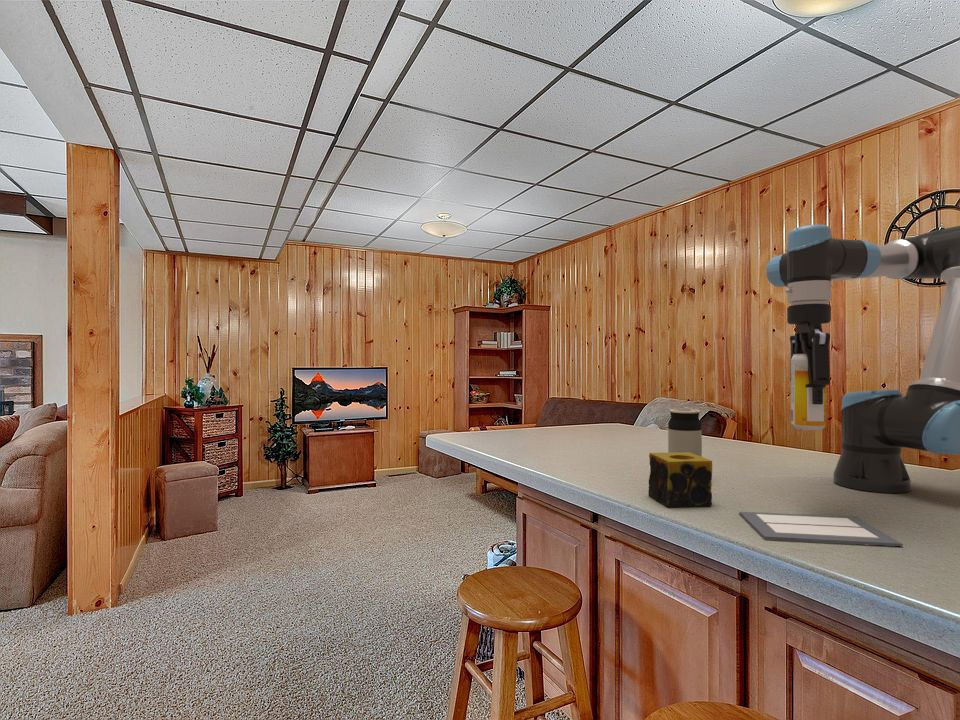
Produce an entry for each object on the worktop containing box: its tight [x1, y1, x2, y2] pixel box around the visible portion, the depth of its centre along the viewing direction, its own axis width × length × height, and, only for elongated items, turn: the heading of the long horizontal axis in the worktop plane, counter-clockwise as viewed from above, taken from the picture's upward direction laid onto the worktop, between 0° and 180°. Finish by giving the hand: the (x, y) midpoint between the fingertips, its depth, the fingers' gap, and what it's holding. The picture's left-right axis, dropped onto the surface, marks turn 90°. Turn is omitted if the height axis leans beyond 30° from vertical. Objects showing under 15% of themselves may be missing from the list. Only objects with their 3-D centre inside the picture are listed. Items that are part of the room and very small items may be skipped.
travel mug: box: [667, 408, 703, 457], centre depth 136 cm, size 8×8×18 cm
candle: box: [648, 452, 713, 509], centre depth 117 cm, size 10×10×10 cm
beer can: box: [790, 354, 827, 431], centre depth 107 cm, size 6×6×15 cm
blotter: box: [738, 511, 903, 548], centre depth 97 cm, size 21×15×1 cm
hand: (808, 418), depth 107 cm, fingers closed on beer can, 6 cm apart
